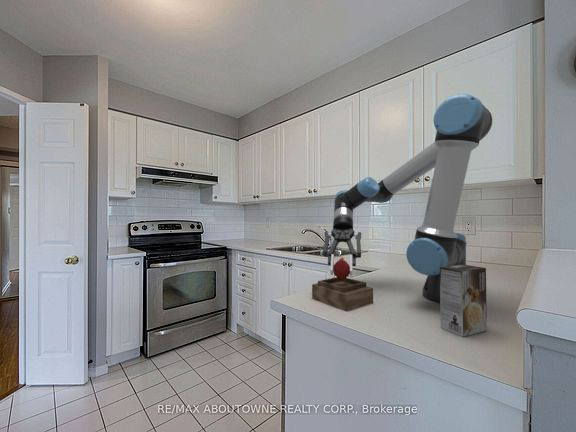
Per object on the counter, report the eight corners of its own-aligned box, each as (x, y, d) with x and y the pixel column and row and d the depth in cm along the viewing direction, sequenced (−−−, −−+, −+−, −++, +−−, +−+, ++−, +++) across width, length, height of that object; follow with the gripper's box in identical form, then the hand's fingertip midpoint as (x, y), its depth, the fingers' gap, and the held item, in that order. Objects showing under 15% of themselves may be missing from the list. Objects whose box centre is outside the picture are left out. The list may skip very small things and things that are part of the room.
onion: (350, 282, 91) (350, 258, 91) (333, 282, 92) (332, 258, 92) (350, 278, 97) (350, 256, 97) (333, 278, 98) (333, 255, 98)
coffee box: (462, 322, 75) (462, 263, 75) (487, 331, 70) (487, 267, 70) (439, 327, 72) (439, 266, 72) (463, 337, 66) (463, 270, 66)
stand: (373, 303, 92) (373, 283, 92) (346, 311, 84) (346, 289, 84) (337, 292, 105) (337, 275, 105) (312, 298, 97) (312, 280, 97)
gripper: (367, 228, 107) (370, 280, 91) (320, 228, 112) (314, 277, 96) (368, 215, 102) (371, 267, 86) (318, 215, 107) (312, 265, 91)
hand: (341, 272), depth 91 cm, fingers closed on onion, 6 cm apart
